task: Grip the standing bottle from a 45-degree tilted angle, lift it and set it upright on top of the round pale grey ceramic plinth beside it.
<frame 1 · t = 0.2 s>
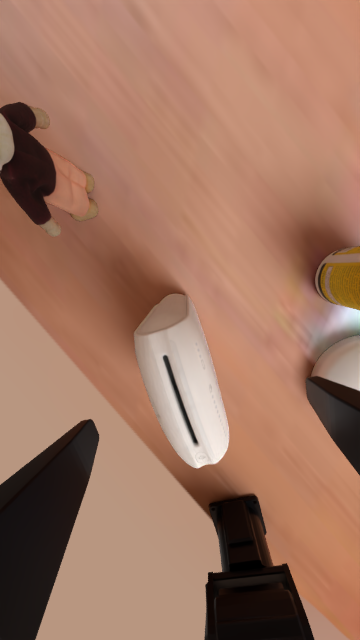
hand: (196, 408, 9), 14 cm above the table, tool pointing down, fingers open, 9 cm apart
supplement bottle: (340, 276, 21), on the table
grandmother figurine: (83, 202, 21), on the table
plinth: (357, 377, 24), on the table
photo printer: (185, 338, 23), on the table
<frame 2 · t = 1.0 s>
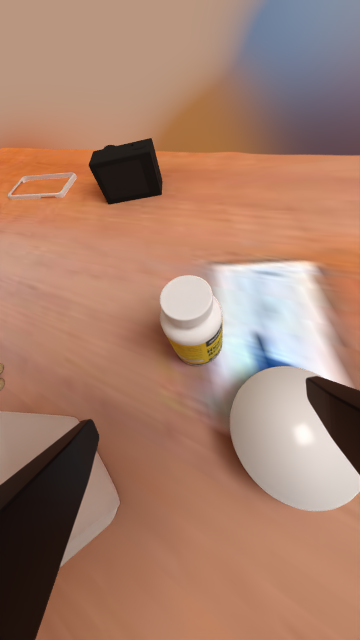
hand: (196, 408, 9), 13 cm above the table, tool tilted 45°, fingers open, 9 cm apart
supplement bottle: (198, 344, 24), on the table
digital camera: (136, 192, 41), on the table
plinth: (287, 429, 19), on the table
photo printer: (85, 469, 21), on the table
phone case: (45, 191, 48), on the table
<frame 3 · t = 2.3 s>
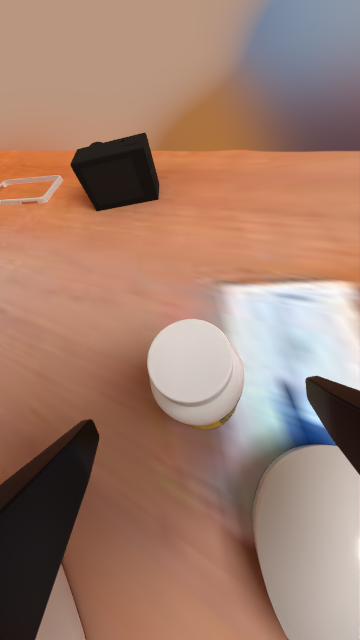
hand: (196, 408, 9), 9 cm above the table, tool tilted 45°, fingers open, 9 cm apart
supplement bottle: (205, 394, 18), on the table
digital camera: (129, 196, 35), on the table
plinth: (340, 541, 13), on the table
photo printer: (43, 589, 14), on the table
phone case: (27, 196, 43), on the table
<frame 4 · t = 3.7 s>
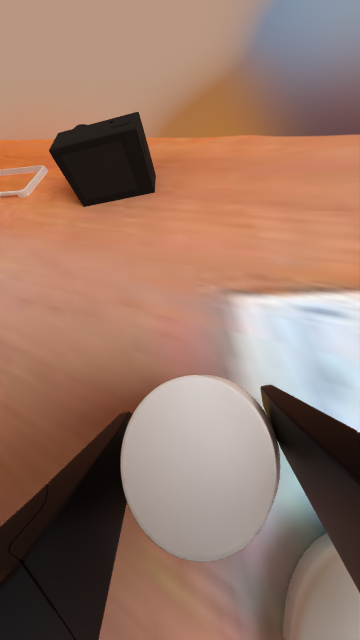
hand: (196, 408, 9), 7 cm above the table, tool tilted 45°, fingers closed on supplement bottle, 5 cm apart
supplement bottle: (212, 441, 14), on the table, touching gripper
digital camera: (121, 189, 31), on the table
phone case: (9, 189, 38), on the table
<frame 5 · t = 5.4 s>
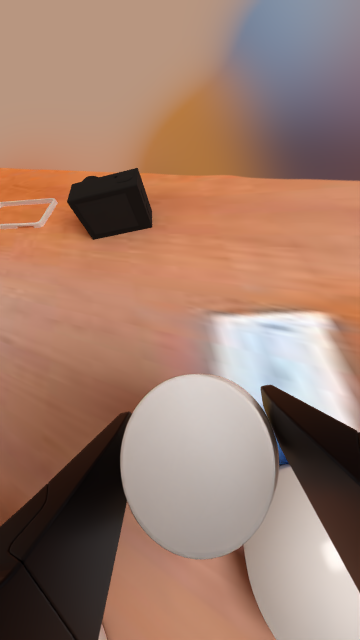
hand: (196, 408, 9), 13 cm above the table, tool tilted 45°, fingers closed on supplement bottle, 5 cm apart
supplement bottle: (211, 440, 14), point 6 cm above the table, touching gripper
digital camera: (123, 223, 37), on the table
plinth: (313, 545, 16), on the table
phone case: (23, 218, 44), on the table
when the fingers open (10 cm above the table, at t = 7.2 s): supplement bottle drops 1 cm, resting on plinth.
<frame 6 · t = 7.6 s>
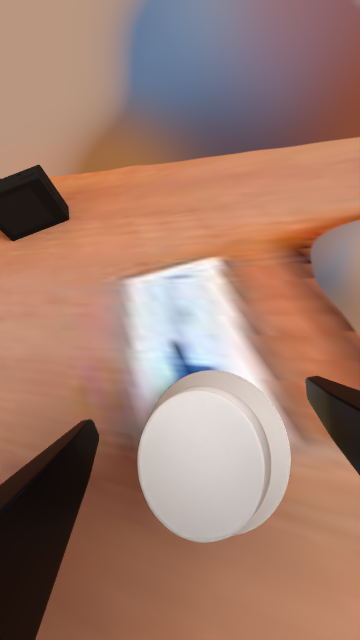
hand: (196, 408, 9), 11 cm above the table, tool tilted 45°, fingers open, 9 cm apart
supplement bottle: (212, 443, 15), point 2 cm above the table, touching plinth
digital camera: (42, 222, 38), on the table
plinth: (214, 439, 17), on the table
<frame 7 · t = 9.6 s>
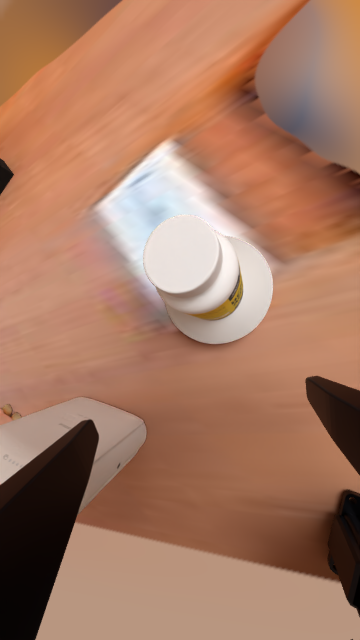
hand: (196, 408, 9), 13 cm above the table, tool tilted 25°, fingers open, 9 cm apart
supplement bottle: (214, 292, 20), point 2 cm above the table, touching plinth
grandmother figurine: (14, 419, 31), on the table
plinth: (218, 294, 22), on the table
photo printer: (111, 420, 26), on the table
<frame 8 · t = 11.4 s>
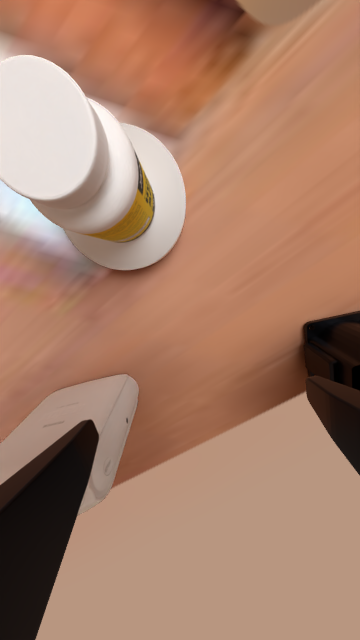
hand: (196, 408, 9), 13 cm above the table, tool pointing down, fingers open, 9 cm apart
supplement bottle: (122, 206, 16), point 2 cm above the table, touching plinth
plinth: (128, 209, 19), on the table
photo printer: (97, 393, 24), on the table
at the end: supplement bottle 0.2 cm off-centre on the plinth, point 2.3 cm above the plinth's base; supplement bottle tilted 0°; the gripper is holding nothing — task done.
